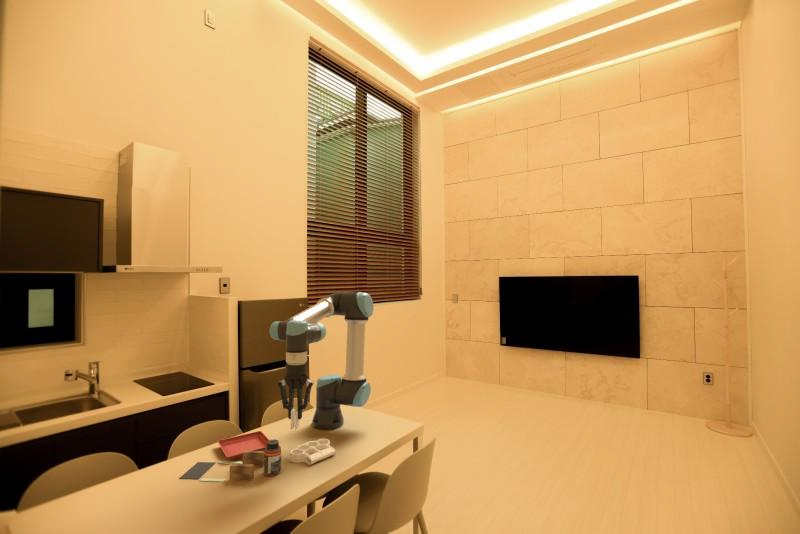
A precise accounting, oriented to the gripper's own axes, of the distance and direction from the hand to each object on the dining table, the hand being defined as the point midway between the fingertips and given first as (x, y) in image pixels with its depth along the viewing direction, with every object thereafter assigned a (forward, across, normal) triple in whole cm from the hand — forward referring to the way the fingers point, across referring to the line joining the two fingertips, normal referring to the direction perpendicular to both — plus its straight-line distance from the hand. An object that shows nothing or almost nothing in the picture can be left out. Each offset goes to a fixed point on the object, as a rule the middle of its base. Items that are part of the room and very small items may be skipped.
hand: (294, 427), depth 140 cm
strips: (+16, -27, 0) cm, 31 cm away
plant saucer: (+17, -26, +18) cm, 36 cm away
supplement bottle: (+17, -8, 0) cm, 18 cm away
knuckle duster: (+17, +3, +15) cm, 23 cm away
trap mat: (+16, -36, 0) cm, 39 cm away
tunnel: (+16, -17, 0) cm, 24 cm away
